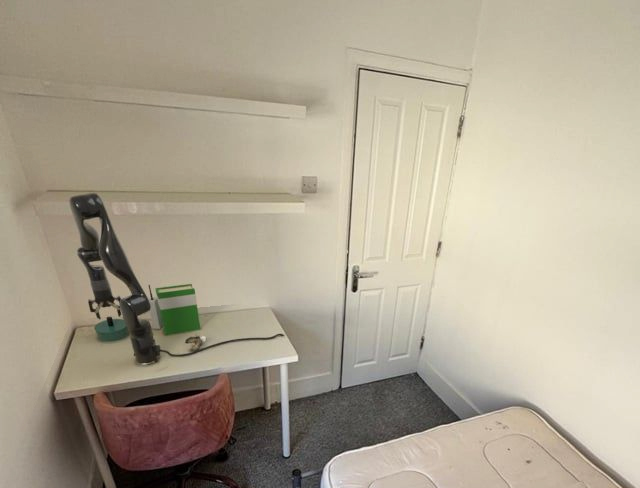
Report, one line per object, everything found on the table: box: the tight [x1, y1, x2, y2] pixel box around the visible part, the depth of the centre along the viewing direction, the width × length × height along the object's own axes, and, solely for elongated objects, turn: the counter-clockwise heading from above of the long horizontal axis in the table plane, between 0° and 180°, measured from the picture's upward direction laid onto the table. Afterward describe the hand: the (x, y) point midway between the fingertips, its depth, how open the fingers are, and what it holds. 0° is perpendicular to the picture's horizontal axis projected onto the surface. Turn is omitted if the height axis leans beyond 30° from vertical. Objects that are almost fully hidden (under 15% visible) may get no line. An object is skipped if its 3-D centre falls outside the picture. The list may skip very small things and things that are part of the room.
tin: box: [95, 327, 130, 343], centre depth 200 cm, size 14×14×6 cm
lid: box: [94, 316, 127, 333], centre depth 198 cm, size 15×15×6 cm
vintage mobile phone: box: [148, 284, 163, 330], centre depth 206 cm, size 4×5×25 cm
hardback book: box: [154, 283, 201, 336], centre depth 207 cm, size 18×7×24 cm, turn 122°
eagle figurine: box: [184, 333, 207, 352], centre depth 197 cm, size 8×7×9 cm
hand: (109, 317), depth 196 cm, fingers open, 8 cm apart
